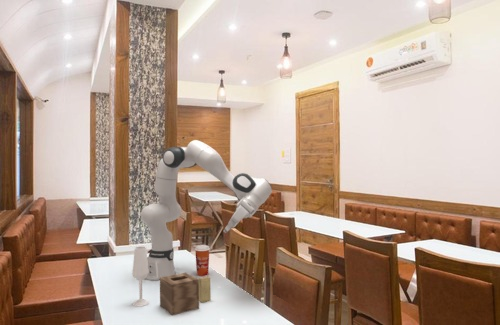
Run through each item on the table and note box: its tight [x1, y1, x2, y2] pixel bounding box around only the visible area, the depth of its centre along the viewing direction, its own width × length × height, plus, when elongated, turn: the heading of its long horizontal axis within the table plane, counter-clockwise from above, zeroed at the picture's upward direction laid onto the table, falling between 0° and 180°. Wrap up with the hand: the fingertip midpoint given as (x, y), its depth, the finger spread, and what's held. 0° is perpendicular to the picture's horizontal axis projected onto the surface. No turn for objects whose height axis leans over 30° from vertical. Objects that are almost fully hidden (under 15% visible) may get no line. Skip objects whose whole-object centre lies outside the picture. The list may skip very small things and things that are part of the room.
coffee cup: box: [194, 244, 211, 277], centre depth 203 cm, size 8×8×15 cm
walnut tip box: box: [159, 272, 200, 316], centre depth 157 cm, size 12×12×12 cm
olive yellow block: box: [198, 275, 212, 303], centre depth 164 cm, size 4×2×10 cm, turn 126°
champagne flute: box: [132, 245, 150, 307], centre depth 162 cm, size 7×7×24 cm
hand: (225, 231), depth 167 cm, fingers open, 8 cm apart
